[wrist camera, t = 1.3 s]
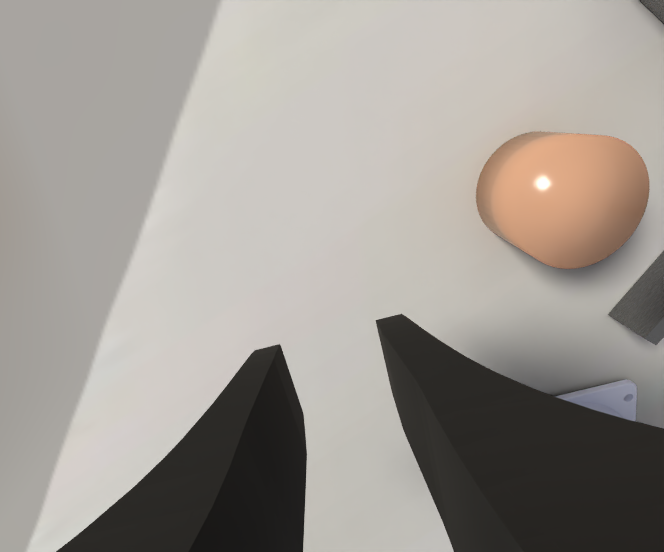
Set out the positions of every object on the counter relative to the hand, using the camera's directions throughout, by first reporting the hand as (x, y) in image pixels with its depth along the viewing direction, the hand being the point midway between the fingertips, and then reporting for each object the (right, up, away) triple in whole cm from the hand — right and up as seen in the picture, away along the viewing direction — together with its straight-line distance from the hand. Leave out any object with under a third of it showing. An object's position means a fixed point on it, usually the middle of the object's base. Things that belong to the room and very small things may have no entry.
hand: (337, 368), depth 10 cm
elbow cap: (+9, +6, +10) cm, 14 cm away
